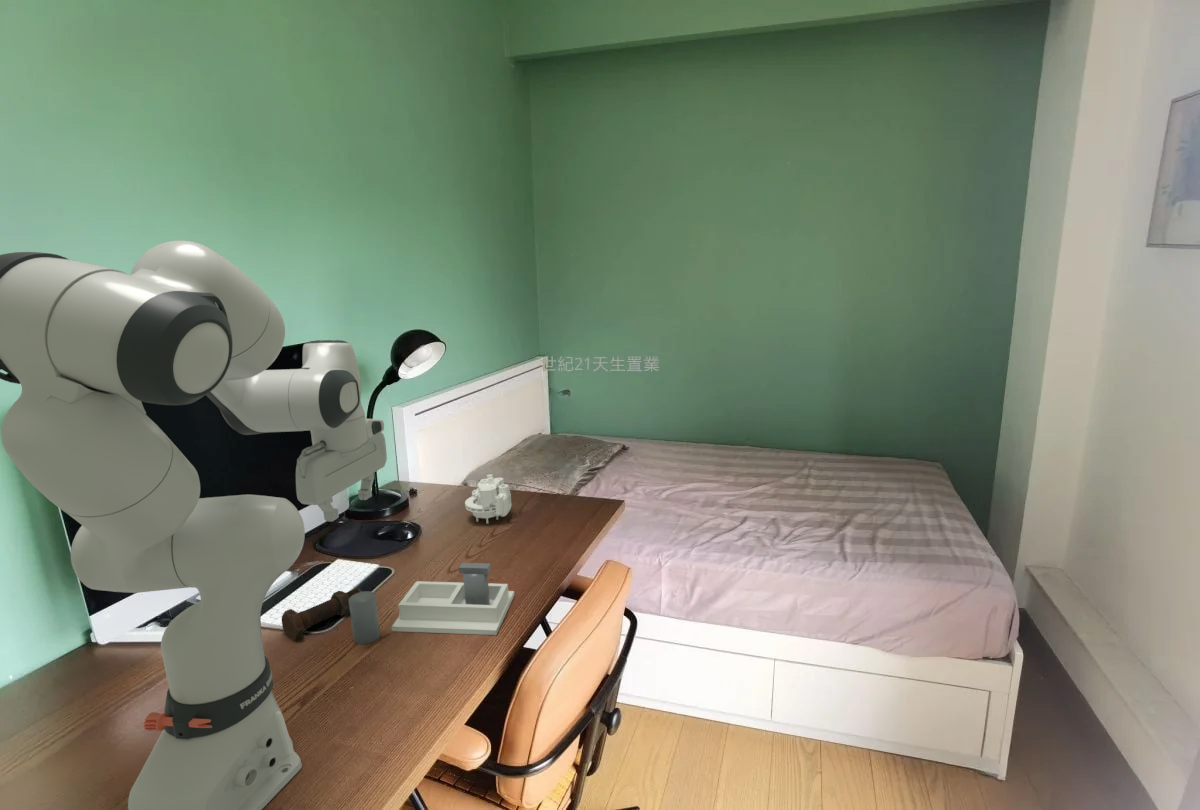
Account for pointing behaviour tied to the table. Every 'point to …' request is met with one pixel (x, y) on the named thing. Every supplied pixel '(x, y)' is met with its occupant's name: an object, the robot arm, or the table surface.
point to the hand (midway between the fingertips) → (349, 508)
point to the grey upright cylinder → (364, 617)
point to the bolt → (316, 614)
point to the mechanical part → (490, 499)
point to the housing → (456, 604)
